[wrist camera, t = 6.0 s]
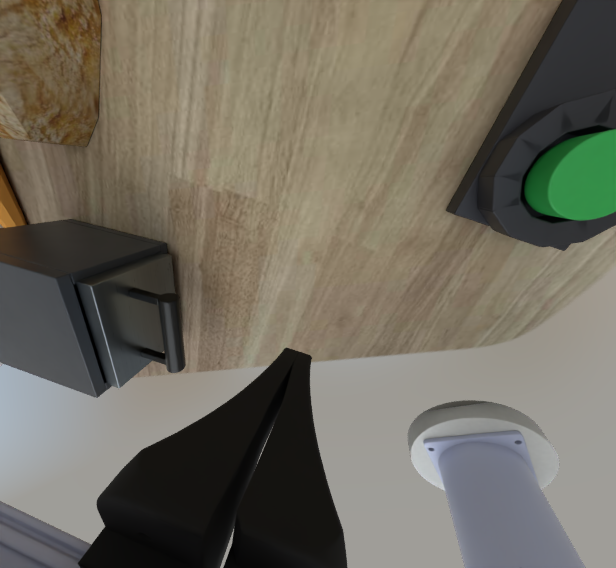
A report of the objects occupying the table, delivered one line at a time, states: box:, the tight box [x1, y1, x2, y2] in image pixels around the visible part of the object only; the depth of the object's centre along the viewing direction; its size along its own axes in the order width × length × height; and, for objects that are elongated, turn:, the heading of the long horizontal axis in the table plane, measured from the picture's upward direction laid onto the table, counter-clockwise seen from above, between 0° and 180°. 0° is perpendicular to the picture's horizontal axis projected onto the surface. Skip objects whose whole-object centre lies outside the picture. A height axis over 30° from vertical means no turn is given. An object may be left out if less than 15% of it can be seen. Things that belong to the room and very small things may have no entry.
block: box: [446, 0, 616, 251], centre depth 11 cm, size 10×6×4 cm, turn 163°
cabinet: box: [0, 219, 167, 398], centre depth 20 cm, size 11×11×9 cm
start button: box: [524, 129, 616, 220], centre depth 10 cm, size 3×3×2 cm
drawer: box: [73, 252, 186, 388], centre depth 20 cm, size 13×9×7 cm
